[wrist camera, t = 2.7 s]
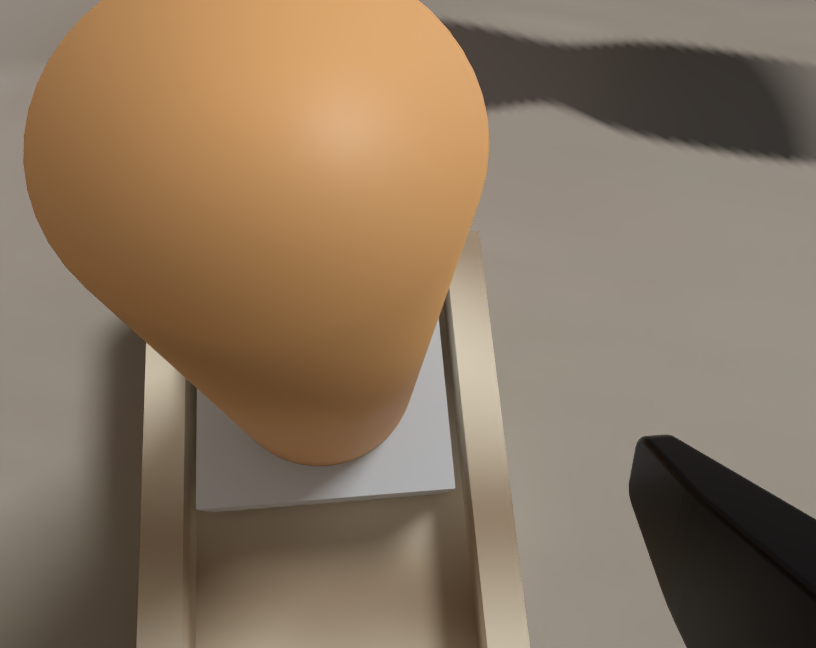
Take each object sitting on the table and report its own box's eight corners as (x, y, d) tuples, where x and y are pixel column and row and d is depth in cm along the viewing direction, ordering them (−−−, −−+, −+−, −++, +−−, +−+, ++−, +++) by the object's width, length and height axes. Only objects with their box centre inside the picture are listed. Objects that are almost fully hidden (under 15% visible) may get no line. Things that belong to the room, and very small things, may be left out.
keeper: (445, 493, 18) (609, 408, 6) (214, 512, 17) (-103, 458, 6) (425, 281, 20) (521, -108, 8) (214, 292, 19) (-26, -105, 7)
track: (554, 1042, 16) (596, 1153, 13) (157, 1102, 15) (110, 1235, 12) (465, 265, 22) (481, 225, 19) (174, 281, 21) (144, 240, 18)
